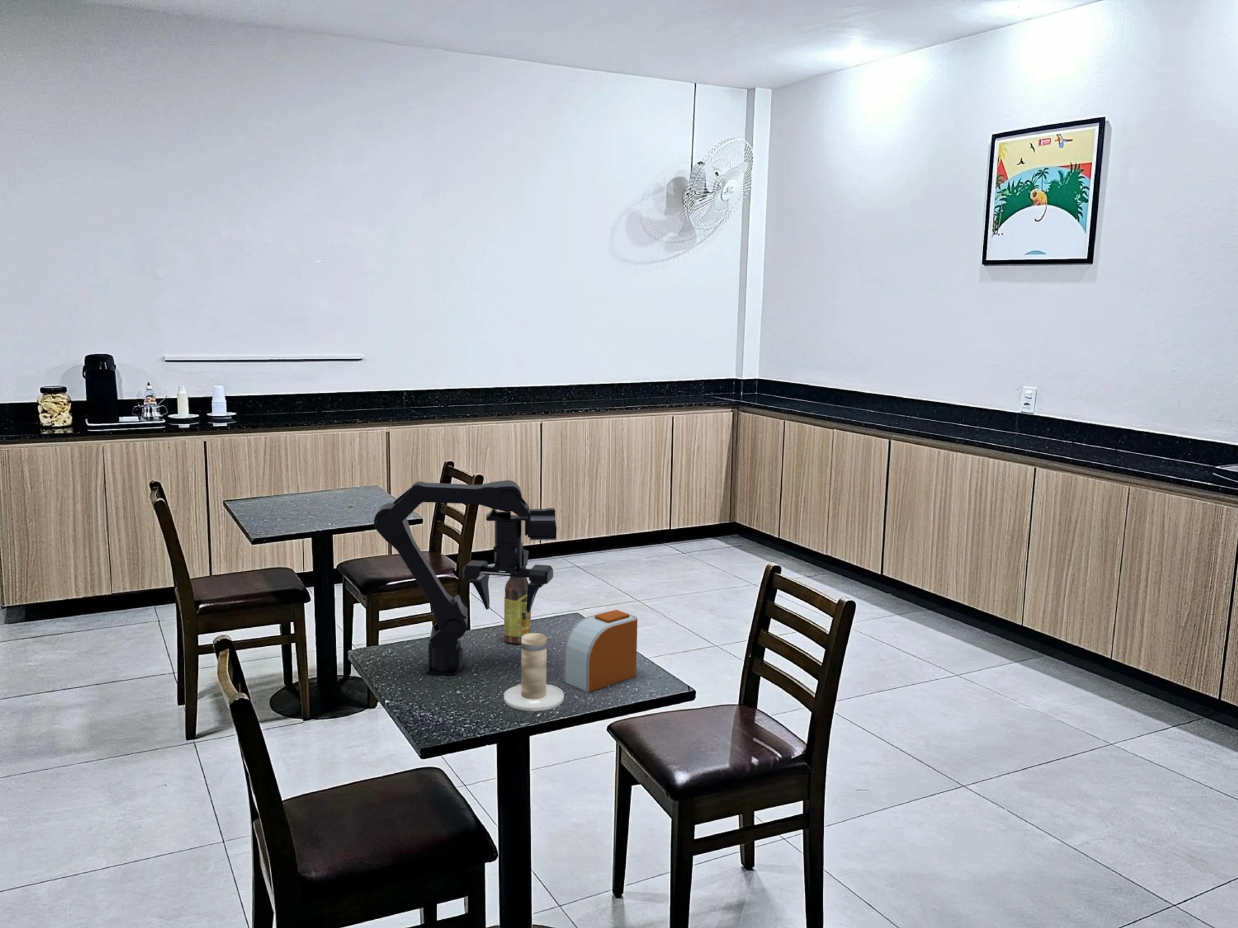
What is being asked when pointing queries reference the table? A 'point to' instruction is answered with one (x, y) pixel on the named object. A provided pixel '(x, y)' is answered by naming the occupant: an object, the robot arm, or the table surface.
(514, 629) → the sauce bottle
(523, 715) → the table surface
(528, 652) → the beech handle
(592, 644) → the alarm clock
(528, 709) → the ceramic plate
